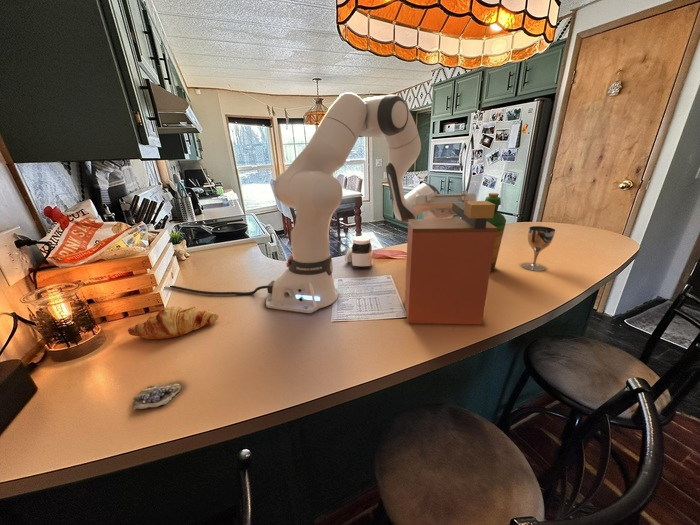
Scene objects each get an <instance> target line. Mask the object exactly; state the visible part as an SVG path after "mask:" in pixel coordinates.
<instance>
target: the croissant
mask: <svg viewBox="0 0 700 525" xmlns="http://www.w3.org/2000/svg"><path fill="white" fill-rule="evenodd" d="M218 319H219V314H218V313H215V312H213V311H211V310H208V309H206V310H203V309H201V308H198V307H196V306H192V307H189V308H185V309H184V308H182V307H180V306H168V307H164V308H162V309H159V310H158V313H157V314H153V315H151V316H149V317H148V318H147V320H145V321H141V322H137V324H135V326H131V327H129V328H128V329H127V333H128V335H130V336H133V337H140V338H142V339H144V340H145V339H146V340H164V339H169V338H175V337H180V336H183V335H185V334H188V333H191V332H192V331H195V330H199V329H200V328H202V327H204V326H206V325H210V324H212V323H214V322H216V321H217V320H218Z"/></svg>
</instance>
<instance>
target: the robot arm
mask: <svg viewBox="0 0 700 525" xmlns="http://www.w3.org/2000/svg"><path fill="white" fill-rule="evenodd" d="M363 137H365V138H382V137H384V141H385V143H386V146H387V149H388V161H387V163H386V166H385V172H386V179H387V183H388V189H389V192H390V197H391V202H392V211H393V214H394V216H395V218H396V219H397V220H398V221H399V222H401V223H408V219H416V218H417V217H418V216H419V215H421V214H423V215H422V219H453V218H456V217H457V218H458V217H459V216H458V215H457V214H456V213H454V212H453V211H452V203H453V202H461V203H463V204H465V201H477V194H476V193H474V192H472V193H471V192H470V193H468V190H462V191H461V192H460V193H440V191H439V190H438V188H437V187H435V186H434V185H433V184H430V183H426V182H423V183H420V184H419V185H418V186H416V187H414V188H413V189H412V190H411V191H409V192H407V193H406V194H405V193H404V187H403V180H404V177H405V176H406V174H407V172H408V171H409V169H411V167H412V165H414V163H415V162H416V161H417V159H418V158H419V156H420V153H421V150H422V142H421V138H420V137H421V136H420V134H419V131H418V127H417V125H416V122H415V120H414V117H413V115H412V113H411V111H410V110H409V108H408V104H407V103H406V101H405V100H404V98H403V97H402V96H399V95H397V94H387V95H379V96H370V97H366V98H363V99H362V98H361V96H359V95H357V94H356V93H354V92H343V93H342V94H340V95H339V96H338V97H337V98H336V100H334V102H333V103H332V104H331V105H330V107H329V108H328V110H327V111H326V113H325V114H324V115H323V117H322V119H321V120H320V123H319V124H318V126H317V128H316V130H315V131H314V133H313V135H312V136H311V138H310V140H309V141H308V143H307V144H306V145H305V147H304V148H303V150H302V151H301V152H300V153H299V154H298V155H297V157H295V159H294V160H293V161H292V162H291V163H290V165H289V166H288V167H287V168H286V169H284V171H283V172H281V173H280V174H279V175H277V177H276V178H275V180H274V183H273V192H274V195H275V198H276V199H277V200H278V201H279V202H280V203H281V204H283V205H284V206H286V207H287V208H290V209H294V210H295V212H296V215H295V222H294V227H293V228H292V230H291V231H290V241H291V250H292V253H291V254H290V255H289V258H288V259H287V262H286V263H285V265H286V268H287V269H285V271H283V272H282V273H281V274H280V275H279V276H278V277H277V278H276V279H275V280H271V282H269V283H268V284H267V285H261V286H258V287H256V288H255V289H254V290H252V291H247V292H246V291H245V292H241V291H205V290H199V289H191V288H186V287H181V286H177V285H172V284H171V285H172V286H170V287H169V289H175V290H179V291H185V292H190V293H195V294H202V295H217V296H218V295H219V296H220V295H221V296H225V295H226V296H227V295H229V296H230V295H231V296H233V295H234V296H251V295H254V294H256V293H257V292H258V291H260V290H264V289H266V291H267V294H268V295H267V297H266V299H265V306H266V308H268V309H275V310H281V311H288V312H289V311H290V312H296V313H304V314H312V313H314V312H316V311H317V310H319V309H322V308H325V307H328V306H330V305H332V304H334V303H335V302H336V301H337V299H338V297H339V295H338V294H339V293H338V292H337V289H336V286H335V283H334V278H333V270H334V268H333V258H332V254H331V252H330V226H331V221H332V217H333V215H334V213H335V211H336V210H338V208H339V207H340V206H341V204H342V200H343V187H342V184H341V183H340V181H339V180H338V179H337V178H336V177H335V176H333V175H334V173H335V172H337V171H339V170H340V169H342V167H343V166H344V165H345V163H346V161H347V159H348V157H349V155H350V154H351V152H352V150H353V148H354V147H355V144H356V143H357V141H358V139H359V138H363Z"/></svg>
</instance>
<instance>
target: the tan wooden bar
mask: <svg viewBox="0 0 700 525" xmlns="http://www.w3.org/2000/svg"><path fill="white" fill-rule="evenodd" d="M494 210H495V204H493V203H491V202H488V201H485V200H476V201H465V204H463V203H461V202H453V203H452V211H453V212H454V213H456V214H457V215H458V216H457V217H459V218H462V219H463V220H465V221H466V222H467V223H468V224H470V225H471V226H472V227H473V228H475V229H485V228H486V222H487V218H493V216H494Z"/></svg>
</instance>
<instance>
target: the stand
mask: <svg viewBox="0 0 700 525" xmlns="http://www.w3.org/2000/svg"><path fill="white" fill-rule="evenodd" d="M496 234H497V227H495V226H494V225H492V224H491V223H489V222H486V228H485V229H475V228H473V227H472V226H471V225H470V224H468V223H467V222H466V221H465V220H463V219H462V218H461V217H459V218H458V217H457V218H448V219H423V218H414V219H408V222H407V240H406V241H407V242H406V262H405V263H406V264H405V265H406V266H405V287H404V308H405V313H406V314H405V315H406V319H407V323H408V324H446V325H453V324H454V325H482V324H483V318H484V312H485V305H486V300H487V293H488V287H489V281H490V275H491V271H490V270H491V264H492V258H493V252H494V246H495V240H496Z"/></svg>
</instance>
